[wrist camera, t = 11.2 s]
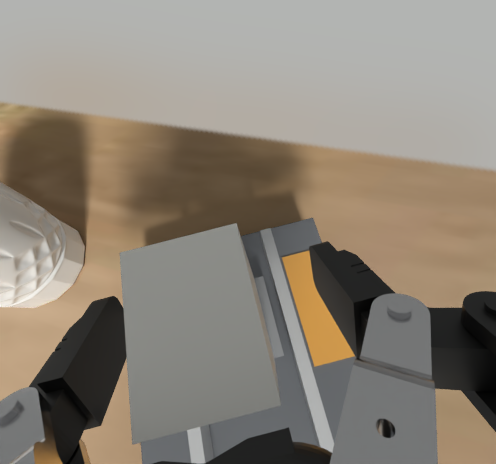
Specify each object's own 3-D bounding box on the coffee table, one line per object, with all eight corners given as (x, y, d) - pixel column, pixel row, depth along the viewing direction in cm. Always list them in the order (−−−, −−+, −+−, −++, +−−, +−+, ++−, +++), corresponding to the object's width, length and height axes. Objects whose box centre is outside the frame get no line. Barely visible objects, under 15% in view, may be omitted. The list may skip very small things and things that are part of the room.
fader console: (306, 233, 19) (316, 207, 15) (463, 687, 11) (577, 900, 7) (148, 274, 19) (113, 259, 15) (199, 760, 11) (157, 1020, 7)
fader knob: (263, 279, 15) (255, 218, 6) (283, 353, 14) (306, 398, 5) (196, 296, 15) (100, 257, 6) (208, 373, 13) (107, 451, 5)
